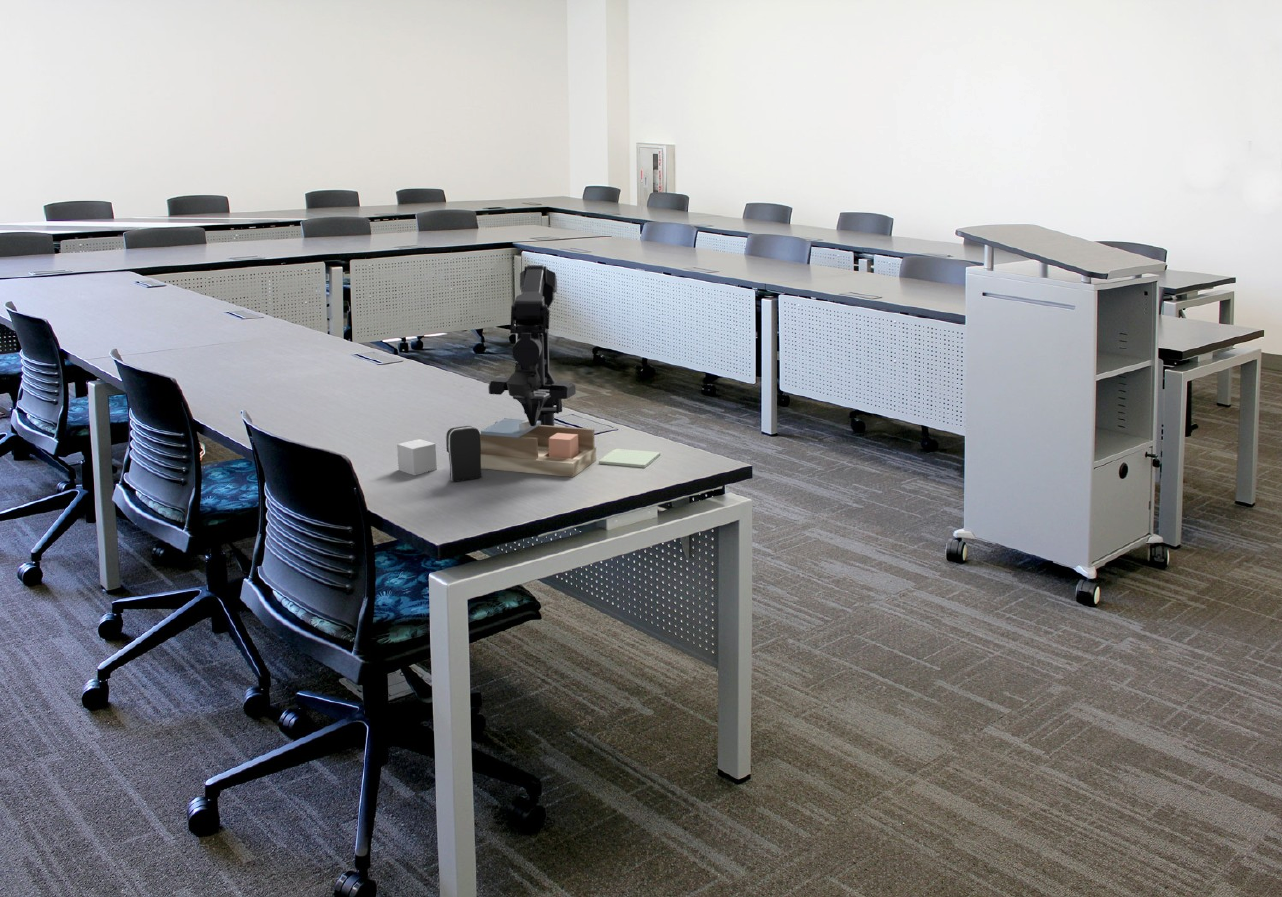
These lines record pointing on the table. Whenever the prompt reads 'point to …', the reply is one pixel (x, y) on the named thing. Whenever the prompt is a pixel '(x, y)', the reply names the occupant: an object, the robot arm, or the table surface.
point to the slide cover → (509, 428)
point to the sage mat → (629, 458)
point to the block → (563, 445)
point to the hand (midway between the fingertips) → (533, 425)
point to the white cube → (416, 456)
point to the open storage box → (537, 452)
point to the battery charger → (464, 453)
